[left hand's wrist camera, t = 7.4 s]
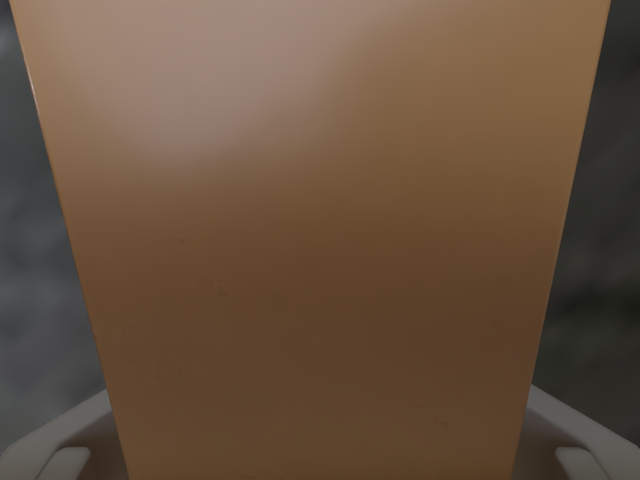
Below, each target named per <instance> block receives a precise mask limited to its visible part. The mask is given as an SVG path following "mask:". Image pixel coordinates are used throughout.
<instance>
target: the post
mask: <svg viewBox="0 0 640 480" xmlns="http://www.w3.org/2000/svg"><path fill="white" fill-rule="evenodd" d="M9 2H10V6H11V10H12V14H13V18H14V22H15V26H16V30H17V34H18V38H19V42H20V46H21V50H22V54H23V58H24V62H25V66H26V70H27V74H28V78H29V82H30V86H31V90H32V94H33V98H34V102H35V106H36V110H37V114H38V118H39V122H40V126H41V130H42V134H43V138H44V142H45V146H46V150H47V154H48V158H49V161H50V165H51V169H52V173H53V177H54V181H55V185H56V189H57V193H58V197H59V201H60V205H61V209H62V213H63V217H64V221H65V225H66V229H67V233H68V237H69V241H70V245H71V249H72V253H73V257H74V261H75V265H76V269H77V273H78V277H79V281H80V285H81V289H82V293H83V297H84V301H85V305H86V309H87V313H88V317H89V321H90V325H91V329H92V333H93V337H94V341H95V344H96V348H97V352H98V356H99V360H100V364H101V368H102V372H103V376H104V380H105V384H106V388H107V392H108V396H109V400H110V404H111V408H112V412H113V416H114V420H115V424H116V428H117V432H118V436H119V440H120V444H121V448H122V452H123V456H124V460H125V464H126V468H127V472H128V476H129V480H511V478H512V473H513V468H514V464H515V459H516V454H517V449H518V444H519V440H520V435H521V430H522V425H523V420H524V416H525V411H526V406H527V401H528V397H529V392H530V387H531V382H532V377H533V373H534V368H535V363H536V358H537V353H538V349H539V344H540V339H541V334H542V329H543V325H544V320H545V315H546V310H547V305H548V301H549V296H550V291H551V286H552V281H553V277H554V272H555V267H556V262H557V257H558V253H559V248H560V243H561V238H562V234H563V229H564V224H565V219H566V214H567V210H568V205H569V200H570V195H571V190H572V186H573V181H574V176H575V171H576V166H577V162H578V157H579V152H580V147H581V142H582V138H583V133H584V128H585V123H586V118H587V114H588V109H589V104H590V99H591V94H592V90H593V85H594V80H595V75H596V71H597V66H598V61H599V56H600V51H601V47H602V42H603V37H604V32H605V27H606V23H607V18H608V13H609V8H610V3H611V0H9Z"/></svg>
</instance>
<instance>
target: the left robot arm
mask: <svg viewBox="0 0 640 480" xmlns="http://www.w3.org/2000/svg"><path fill="white" fill-rule="evenodd" d="M0 480H129V476H128V472H127V468H126V464H125V460H124V456H123V452H122V448H121V444H120V440H119V436H118V432H117V428H116V424H115V420H114V416H113V412H112V408H111V404H110V400H109V396H108V392H107V388H106V389H104V390H102V391H101V392H99V393H97V394H96V395H94V396H92V397H90V398H89V399H87V400H85V401H84V402H82V403H80V404H79V405H77V406H75V407H73V408H72V409H70V410H68V411H67V412H65V413H63V414H62V415H60V416H58V417H56V418H55V419H53V420H51V421H50V422H48V423H46V424H45V425H43V426H41V427H39V428H38V429H36V430H34V431H33V432H31V433H29V434H28V435H26V436H24V437H22V438H21V439H19V440H17V441H16V442H14V443H12V444H11V445H9V446H8V447H7V449H6V450H5V451H4V452H3V454H2V455H1V456H0ZM511 480H640V449H639V448H638V447H637V446H636V445H635V444H633V443H631V442H629V441H628V440H626V439H624V438H623V437H621V436H619V435H617V434H616V433H614V432H612V431H611V430H609V429H607V428H606V427H604V426H602V425H600V424H599V423H597V422H595V421H594V420H592V419H590V418H588V417H587V416H585V415H583V414H582V413H580V412H578V411H576V410H575V409H573V408H571V407H570V406H568V405H566V404H564V403H563V402H561V401H559V400H558V399H556V398H554V397H552V396H551V395H549V394H547V393H546V392H544V391H542V390H541V389H539V388H537V387H535V386H534V385H532V384H531V387H530V392H529V397H528V401H527V406H526V411H525V416H524V420H523V425H522V430H521V435H520V440H519V444H518V449H517V454H516V459H515V464H514V468H513V473H512V478H511Z"/></svg>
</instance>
